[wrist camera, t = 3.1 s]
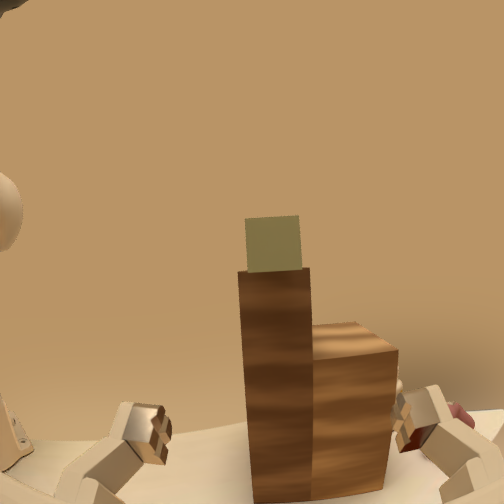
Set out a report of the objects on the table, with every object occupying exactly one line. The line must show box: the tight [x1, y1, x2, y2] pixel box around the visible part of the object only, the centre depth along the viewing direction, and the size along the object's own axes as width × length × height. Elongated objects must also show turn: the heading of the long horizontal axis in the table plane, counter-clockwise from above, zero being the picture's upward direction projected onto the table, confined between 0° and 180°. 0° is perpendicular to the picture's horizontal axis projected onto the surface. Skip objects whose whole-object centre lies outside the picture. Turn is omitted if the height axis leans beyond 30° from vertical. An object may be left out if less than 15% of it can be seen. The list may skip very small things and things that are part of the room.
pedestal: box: [238, 268, 398, 503], centre depth 34 cm, size 16×14×25 cm
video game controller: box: [447, 401, 475, 429], centre depth 30 cm, size 10×5×7 cm, turn 133°
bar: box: [245, 216, 302, 273], centre depth 29 cm, size 24×3×3 cm, turn 177°
